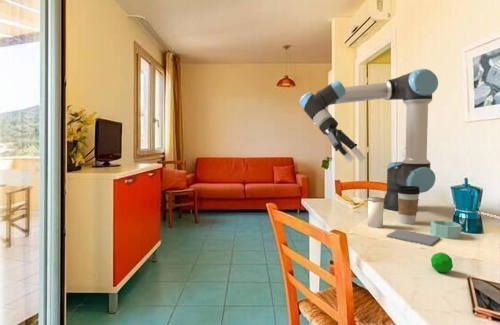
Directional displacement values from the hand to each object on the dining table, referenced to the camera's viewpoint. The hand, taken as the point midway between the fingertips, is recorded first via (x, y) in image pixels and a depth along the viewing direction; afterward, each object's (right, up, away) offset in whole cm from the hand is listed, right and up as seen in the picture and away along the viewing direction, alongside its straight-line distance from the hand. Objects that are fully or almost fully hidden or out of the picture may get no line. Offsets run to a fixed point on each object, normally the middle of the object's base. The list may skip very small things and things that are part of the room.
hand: (357, 160), depth 133 cm
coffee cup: (+21, -26, +3) cm, 33 cm away
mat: (+13, -27, -19) cm, 35 cm away
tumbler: (+6, -26, -3) cm, 27 cm away
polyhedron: (+6, -29, -48) cm, 56 cm away
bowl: (+26, -27, -15) cm, 41 cm away
